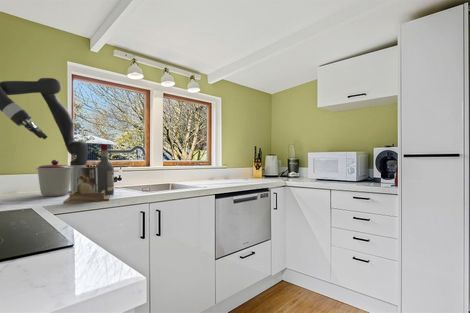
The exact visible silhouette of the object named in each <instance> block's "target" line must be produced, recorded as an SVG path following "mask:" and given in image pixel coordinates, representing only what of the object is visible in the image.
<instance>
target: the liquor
mask: <svg viewBox="0 0 470 313" xmlns="http://www.w3.org/2000/svg"><path fill="white" fill-rule="evenodd" d="M108 146H109V145H108V144H105V143H103V144H100V149H101V150H100V151H101V152H100V154H101V155H100V156H101V158H100V161H99V162H98V163H97V164H96V165H95V167H97V171H98V191H99V190H105V195H110V196H112V195H114V194H115V184H114V183H115V177H114V176H115V170H114V165H113V164H112V163H111V161H109V157H108V156H109V155H108V151H109V149H108V148H109V147H108Z"/></svg>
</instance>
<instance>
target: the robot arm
mask: <svg viewBox="0 0 470 313" xmlns="http://www.w3.org/2000/svg"><path fill="white" fill-rule="evenodd" d="M61 90H62V83H61V82H60V81H59V80H58V79H56V78H53V77H41V78H38V80H32V81H31V80H30V81H29V80H4V81H0V112H2V113H3V114H4V115H5V117H7V118H8V119H10V121H12V123H14V124H15V125H16V126H18V127H20V126H21V127H22V126H23V127H24V128H25V129H27V130H28V131H29V132H31V134H34V135H35V136H37V138H38V139H42V140H47V139H48V135H46V133H44V132H43V130H42V129H41V128H40V127H39V126H38V125H36V123H35V122H33V121H30V120H31V118H32V115H30V114H29V113H28V112H27V111H26V110H25V109H24V108H23V107H21V106H20V105H19V104H17V103H16V102H15V101H13V100H12V99H11V98H10V97H9V96H15V95H26V94H37V93H38V94H39V93H40V95H41V96H42V98H43V100H44V101H45V103H46V105H47V108H48V110H49V111H50V114H52V118H53V120H54V122H55V124H56V126H57V128H58V130H59V132H60V134H61V136H62V140H63V142H64V145H65V147H66V150H67V152H68V154H70V155H72V156H76V157H75V158H74V159H72V160H70V162H69V163H70V164H69V166H71V167H73V168H72V169H71V177H70V185H69V191H70V193H72V192H77V168H82V167H87V162H88V154H89V152H88V151H89V149H88V148H89V147H88V144H87V142H86V141H83V140H75V138H74V136H73V128H74V120H73V117H72V116H71V113H70V112H69V110H68V109H67V108H66V106H64V104H62V102H61V101H60V100H59V98H58V97H57V94H58V93H60V92H61Z"/></svg>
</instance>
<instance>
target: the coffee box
mask: <svg viewBox="0 0 470 313" xmlns="http://www.w3.org/2000/svg"><path fill="white" fill-rule="evenodd" d="M84 193H98V171H97V167H96V166H92V167H90V166H89V167H87V166H86V167H82V168H77V194H84Z"/></svg>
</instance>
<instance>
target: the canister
mask: <svg viewBox="0 0 470 313" xmlns="http://www.w3.org/2000/svg"><path fill="white" fill-rule="evenodd" d="M72 168H73V167H71V166H70V164H68V165H67V164H59V160H57V159H53V160H51V164H43V165H40V166H38V167H36V169H35V170H37V175H38V185H39V190H40V194H41V195H42V196H43V197H61V196H65V195H67V194H68V193H69V191H70V177H71V169H72Z"/></svg>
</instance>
